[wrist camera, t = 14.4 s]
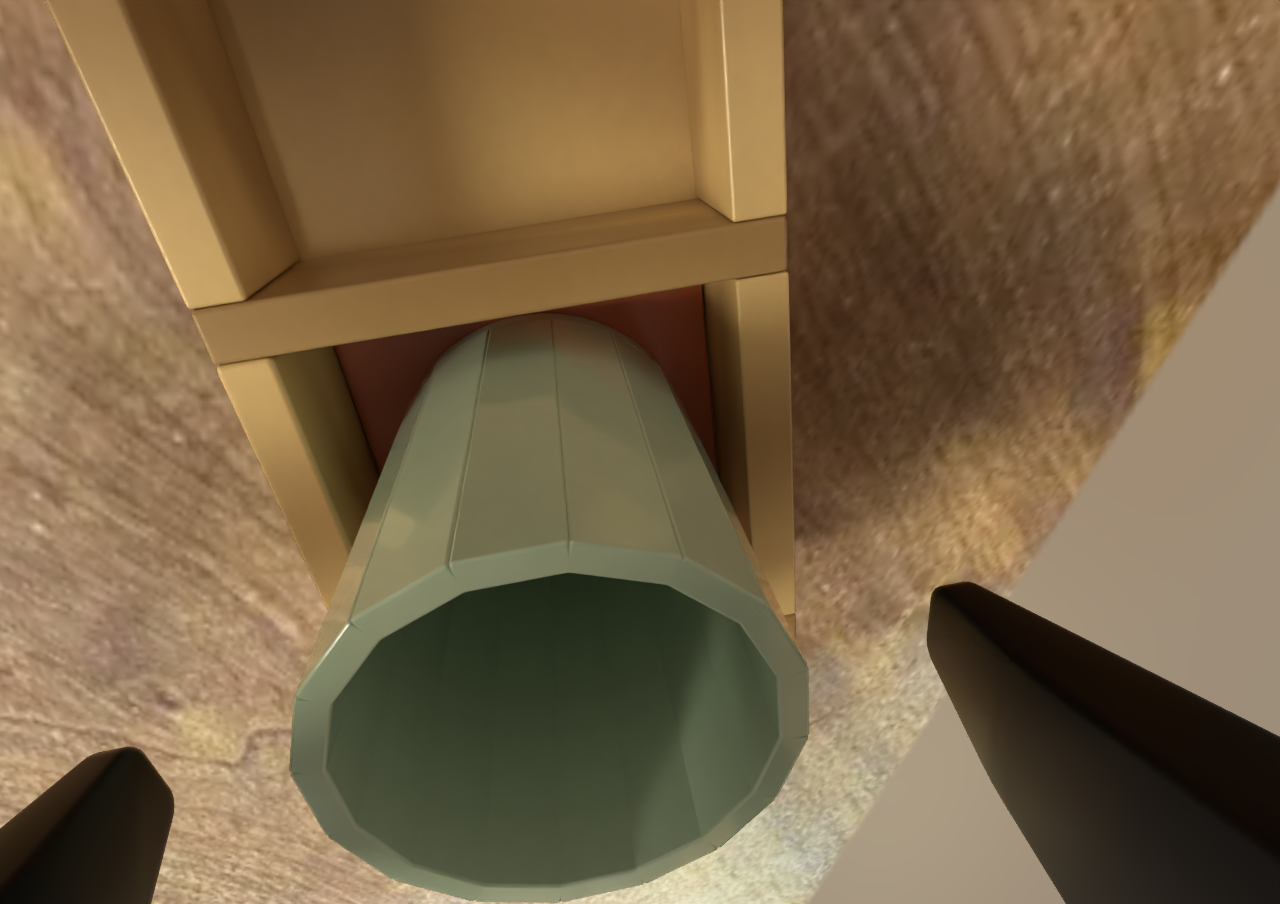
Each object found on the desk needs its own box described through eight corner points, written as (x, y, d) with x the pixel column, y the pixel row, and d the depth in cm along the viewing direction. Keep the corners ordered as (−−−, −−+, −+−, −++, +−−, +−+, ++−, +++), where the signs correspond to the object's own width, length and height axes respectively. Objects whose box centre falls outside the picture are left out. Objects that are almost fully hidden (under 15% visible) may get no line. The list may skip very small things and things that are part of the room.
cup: (694, 531, 15) (811, 849, 9) (448, 577, 14) (386, 942, 8) (669, 289, 12) (808, 496, 6) (368, 339, 12) (191, 611, 6)
